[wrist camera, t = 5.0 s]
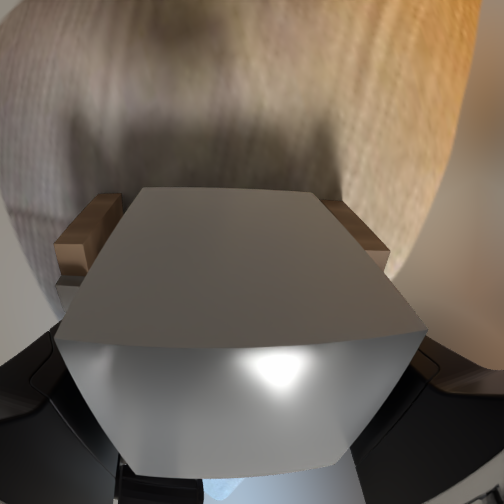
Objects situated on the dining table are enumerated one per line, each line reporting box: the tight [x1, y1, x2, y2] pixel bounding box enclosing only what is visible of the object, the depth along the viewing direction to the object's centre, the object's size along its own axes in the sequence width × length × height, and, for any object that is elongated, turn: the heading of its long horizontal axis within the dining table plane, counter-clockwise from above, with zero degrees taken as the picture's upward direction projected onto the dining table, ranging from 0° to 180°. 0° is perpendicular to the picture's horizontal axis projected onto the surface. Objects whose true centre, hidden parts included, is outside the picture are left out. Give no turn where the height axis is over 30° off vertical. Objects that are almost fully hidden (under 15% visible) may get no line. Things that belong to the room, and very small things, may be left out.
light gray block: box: [54, 187, 428, 479], centre depth 7 cm, size 5×5×6 cm
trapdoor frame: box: [54, 193, 390, 312], centre depth 19 cm, size 15×16×7 cm
